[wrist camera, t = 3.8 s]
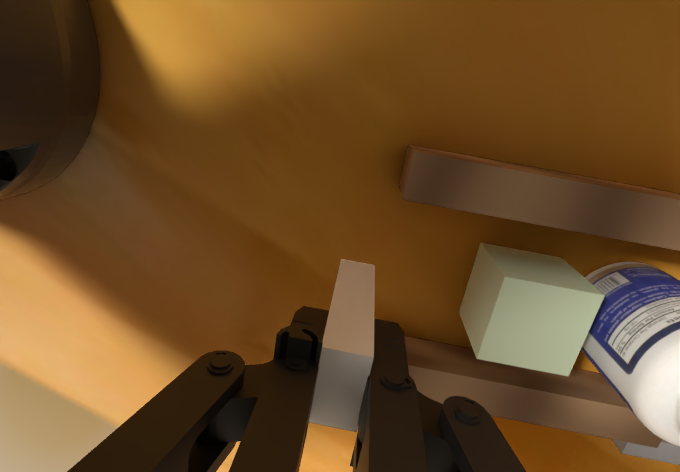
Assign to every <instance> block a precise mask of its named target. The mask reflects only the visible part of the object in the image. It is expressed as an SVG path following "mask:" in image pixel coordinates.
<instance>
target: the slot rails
mask: <svg viewBox="0 0 680 472" xmlns="http://www.w3.org/2000/svg"><path fill="white" fill-rule="evenodd" d="M399 188H400V192H401V195H402V199H403V200H407V201H412V202H418V203H423V204H428V205H434V206H439V207H445V208H450V209H456V210H461V211H466V212H472V213H477V214H483V215H488V216H494V217H499V218H504V219H510V220H515V221H521V222H526V223H532V224H537V225H542V226H548V227H553V228H559V229H564V230H569V231H575V232H580V233H586V234H591V235H597V236H602V237H607V238H613V239H618V240H624V241H629V242H635V243H640V244H645V245H651V246H656V247H662V248H667V249H672V250H678V251H680V194H679V193H673V192H668V191H662V190H657V189H651V188H646V187H640V186H635V185H629V184H624V183H618V182H613V181H607V180H602V179H596V178H591V177H585V176H579V175H574V174H568V173H563V172H557V171H552V170H546V169H541V168H535V167H530V166H524V165H519V164H513V163H508V162H502V161H497V160H491V159H486V158H480V157H475V156H469V155H464V154H458V153H453V152H447V151H442V150H436V149H430V148H425V147H419V146H414V145H408V150H407V154H406V159H405V163H404V168H403V172H402V177H401V181H400V186H399ZM405 344H406V353H407V361H408V370H409V375H410V377H411V378H412V379H413V380H414V382H415V384H416V387H417V390H418V391H419V392H420V393H422V394H423V395H424V396H426V397H428V398H430V399H432V400H434V401H437V402H439V403H441V404H443V403H444V400H446V399H447V398H448V397H451V396H462V397H467V398H469V399H471V400H474V401H476V402H477V403H478V404H480V405H481V406H483V407H484V408H485V410H486V411H487V412H488V413H489V414H490V416H495V417H501V418H506V419H511V420H516V421H521V422H526V423H531V424H536V425H541V426H546V427H552V428H557V429H562V430H567V431H572V432H577V433H582V434H587V435H592V436H598V437H603V438H608V439H613V440H618V441H623V442H628V443H633V444H638V445H644V446H649V447H654V448H658V446H659V445H660V443H661V441H662V440H663V439H661V438H660V437H658V436H656V435H655V434H653V433H652V432H651V431H650V430H649V429H648V428H647V427H645V426H644V424H643V423H642V422H641V421H640V420H639V419H638V418H637V417H636V416H635V415H634V413H633V412H632V411H631V410H630V409H629V407H628V406H627V405H626V404H625V402H624V401H623V400H622V399H621V398H620V396H619V395H618V394H617V393H616V391H615V390H614V389H613V388H612V387H611V385H610V384H609V383H608V382H607V381H606V379H605V378H604V377H603V376H602V374H600V373H595V372H590V371H585V370H579V369H574V368H572V370H571V372H570V374H569V376H564V375H558V374H553V373H548V372H543V371H538V370H532V369H527V368H522V367H517V366H511V365H506V364H501V363H496V362H491V361H485V360H480V359H476V356H475V353H474V351H473V349H470V348H465V347H460V346H455V345H449V344H444V343H439V342H434V341H429V340H423V339H418V338H413V337H408V336H405Z"/></svg>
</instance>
